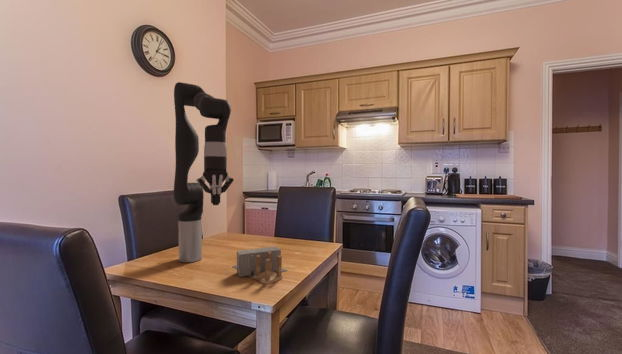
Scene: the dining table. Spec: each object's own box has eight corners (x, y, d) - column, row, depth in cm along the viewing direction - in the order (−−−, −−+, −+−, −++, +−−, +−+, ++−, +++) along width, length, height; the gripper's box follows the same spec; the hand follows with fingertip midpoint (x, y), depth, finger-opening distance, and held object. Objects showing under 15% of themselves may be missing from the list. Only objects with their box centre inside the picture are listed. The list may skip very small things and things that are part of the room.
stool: (254, 278, 103) (254, 255, 103) (269, 273, 108) (269, 251, 108) (266, 285, 98) (267, 261, 98) (282, 279, 104) (282, 256, 103)
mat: (232, 267, 117) (232, 266, 117) (263, 260, 126) (263, 259, 126) (253, 279, 103) (253, 278, 103) (287, 271, 112) (287, 270, 112)
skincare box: (238, 255, 104) (281, 249, 110) (235, 250, 111) (276, 244, 116) (239, 278, 104) (282, 271, 110) (236, 272, 111) (277, 266, 117)
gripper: (229, 156, 110) (229, 202, 110) (192, 155, 102) (192, 205, 102) (237, 155, 104) (237, 204, 105) (199, 154, 96) (199, 207, 96)
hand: (215, 204), depth 103 cm, fingers closed
